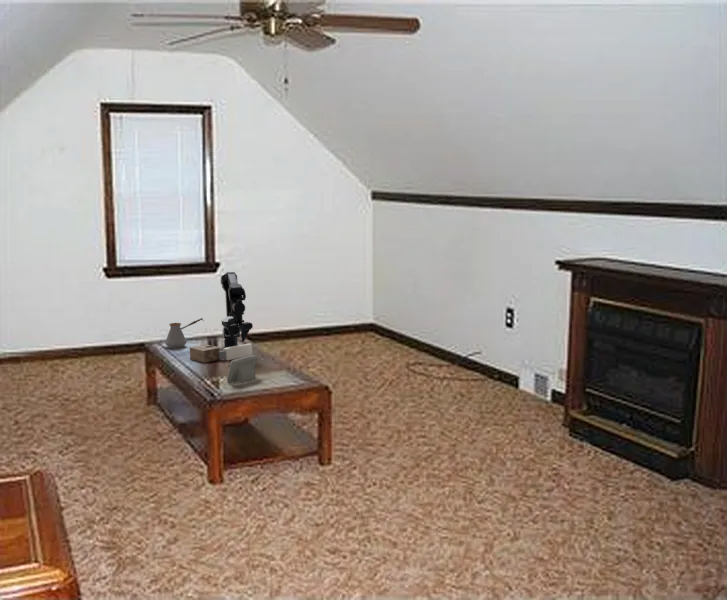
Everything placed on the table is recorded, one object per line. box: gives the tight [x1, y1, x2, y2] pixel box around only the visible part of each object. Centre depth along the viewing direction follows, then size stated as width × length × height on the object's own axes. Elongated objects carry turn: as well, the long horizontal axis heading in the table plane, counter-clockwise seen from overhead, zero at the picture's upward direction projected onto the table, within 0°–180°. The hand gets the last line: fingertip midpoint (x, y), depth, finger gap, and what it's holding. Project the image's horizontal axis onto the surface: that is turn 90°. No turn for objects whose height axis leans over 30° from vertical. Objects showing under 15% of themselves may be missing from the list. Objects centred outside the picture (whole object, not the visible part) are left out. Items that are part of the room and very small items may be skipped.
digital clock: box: [226, 354, 258, 384], centre depth 364 cm, size 16×9×11 cm, turn 133°
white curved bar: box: [219, 343, 253, 361], centre depth 408 cm, size 20×3×6 cm, turn 137°
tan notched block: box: [189, 344, 221, 363], centre depth 405 cm, size 10×12×6 cm
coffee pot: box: [164, 317, 204, 349], centre depth 436 cm, size 21×12×15 cm, turn 113°
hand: (237, 340), depth 408 cm, fingers open, 9 cm apart
